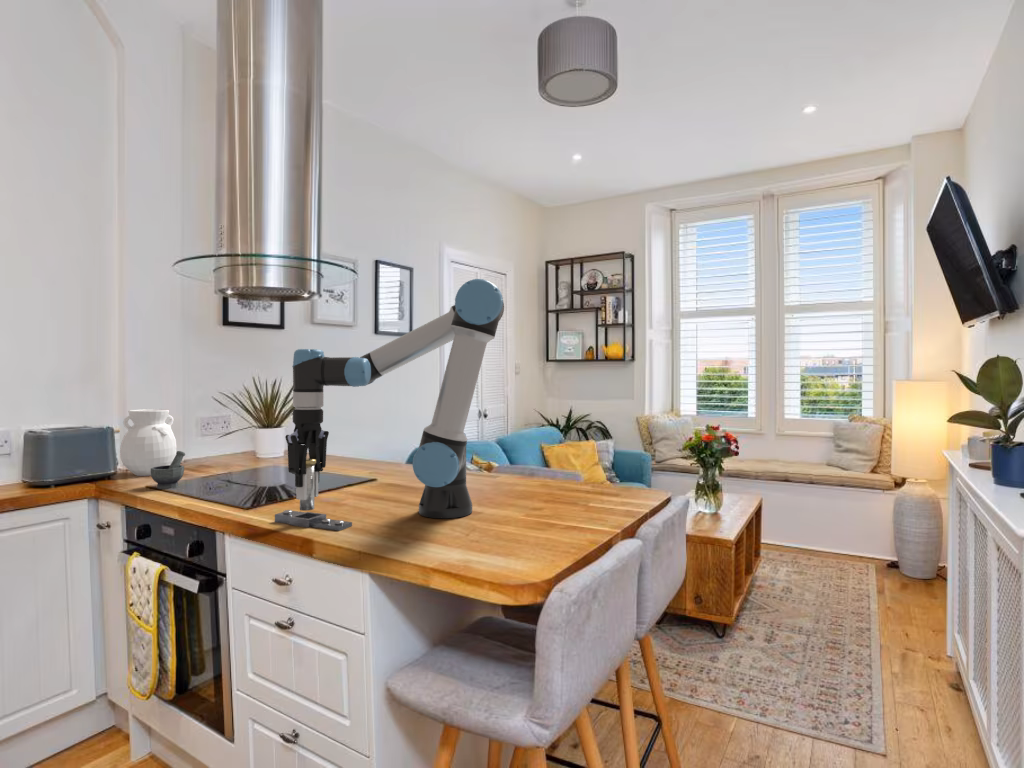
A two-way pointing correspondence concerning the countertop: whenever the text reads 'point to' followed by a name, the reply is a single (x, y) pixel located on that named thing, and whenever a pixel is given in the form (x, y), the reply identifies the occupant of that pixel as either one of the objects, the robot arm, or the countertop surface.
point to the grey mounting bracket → (310, 520)
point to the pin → (309, 485)
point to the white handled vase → (148, 441)
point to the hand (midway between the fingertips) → (307, 497)
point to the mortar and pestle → (169, 473)
